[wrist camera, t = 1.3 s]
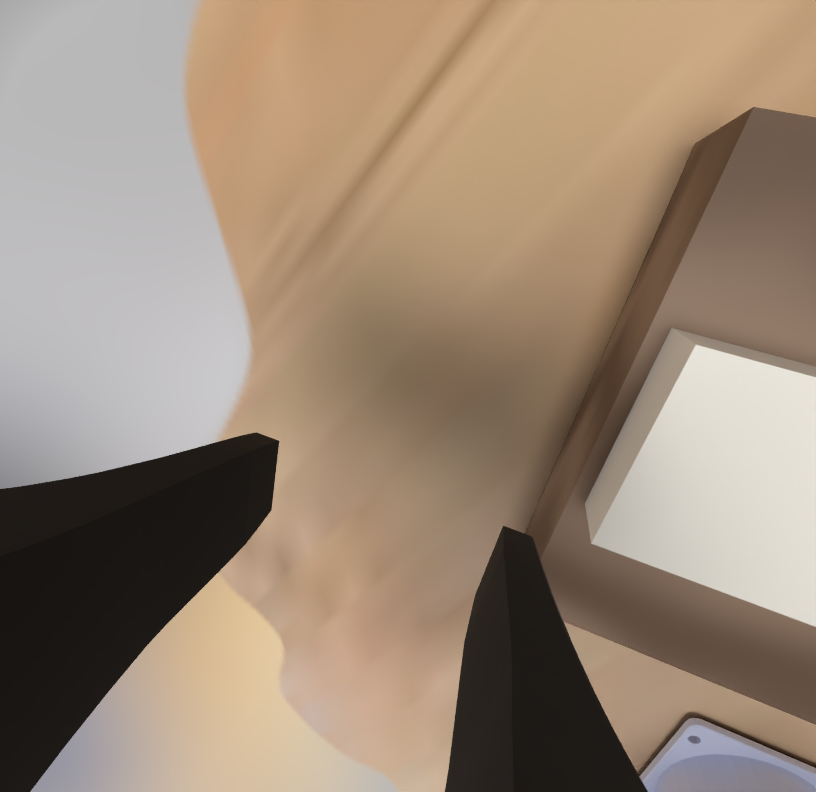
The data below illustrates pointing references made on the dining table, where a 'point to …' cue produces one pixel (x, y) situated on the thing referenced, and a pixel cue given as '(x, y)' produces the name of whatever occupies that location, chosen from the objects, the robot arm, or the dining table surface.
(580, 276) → the dining table surface
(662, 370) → the flat white box
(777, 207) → the plate
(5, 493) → the robot arm
